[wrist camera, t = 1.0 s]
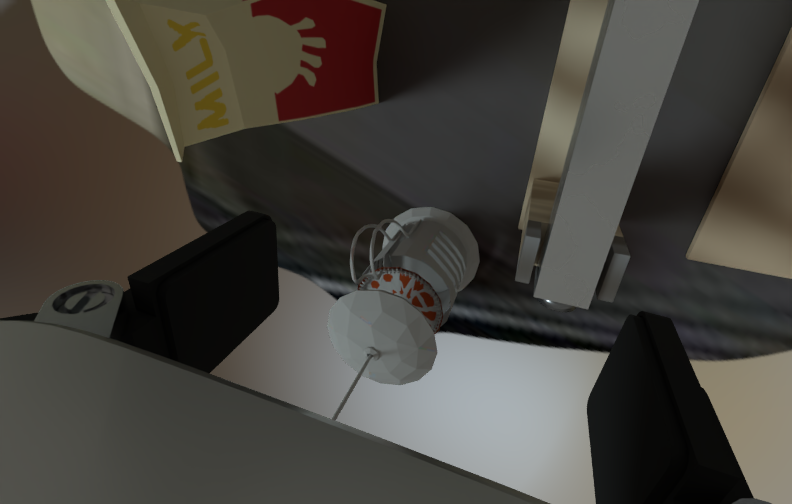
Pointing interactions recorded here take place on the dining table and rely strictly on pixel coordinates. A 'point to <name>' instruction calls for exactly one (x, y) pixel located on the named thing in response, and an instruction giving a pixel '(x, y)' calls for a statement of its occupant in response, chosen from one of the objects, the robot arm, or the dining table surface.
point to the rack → (565, 146)
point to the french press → (403, 296)
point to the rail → (608, 143)
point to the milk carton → (251, 60)
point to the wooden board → (756, 187)
